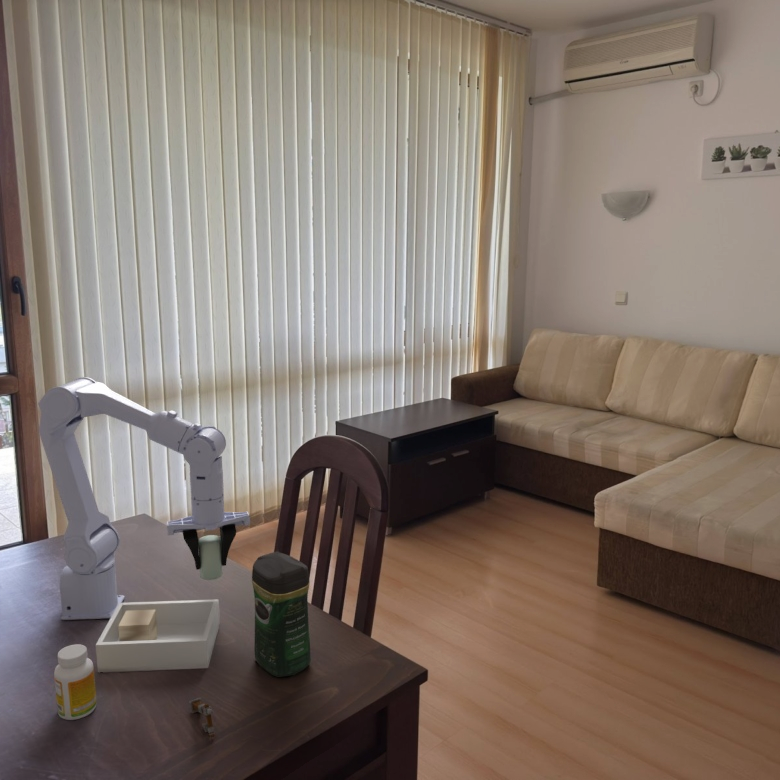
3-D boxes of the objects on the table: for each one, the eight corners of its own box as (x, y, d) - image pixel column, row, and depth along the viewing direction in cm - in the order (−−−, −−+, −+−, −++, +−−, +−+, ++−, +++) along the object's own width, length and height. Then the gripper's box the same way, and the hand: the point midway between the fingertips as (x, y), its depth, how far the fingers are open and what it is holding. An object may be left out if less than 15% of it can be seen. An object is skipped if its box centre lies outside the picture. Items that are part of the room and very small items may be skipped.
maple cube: (120, 652, 121) (118, 625, 120) (128, 636, 126) (126, 610, 125) (150, 651, 122) (148, 624, 121) (157, 635, 127) (155, 609, 126)
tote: (97, 672, 117) (95, 645, 116) (121, 627, 130) (119, 602, 129) (207, 668, 119) (206, 640, 118) (219, 624, 132) (218, 599, 131)
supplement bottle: (103, 699, 111) (98, 642, 108) (85, 722, 105) (80, 663, 103) (70, 696, 111) (64, 640, 109) (50, 719, 106) (44, 660, 104)
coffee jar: (318, 666, 119) (317, 563, 115) (277, 685, 114) (274, 577, 110) (287, 641, 127) (285, 543, 123) (247, 658, 122) (243, 556, 118)
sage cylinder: (201, 581, 130) (199, 545, 129) (199, 571, 134) (197, 536, 132) (223, 578, 132) (222, 542, 130) (220, 568, 135) (219, 533, 134)
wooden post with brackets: (207, 740, 101) (202, 707, 101) (193, 730, 107) (188, 699, 108) (220, 736, 102) (215, 703, 102) (205, 726, 108) (200, 695, 109)
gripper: (166, 508, 123) (171, 581, 126) (251, 498, 128) (254, 568, 131) (164, 494, 130) (168, 563, 133) (245, 485, 135) (247, 552, 138)
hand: (210, 565), depth 132 cm, fingers closed on sage cylinder, 4 cm apart
